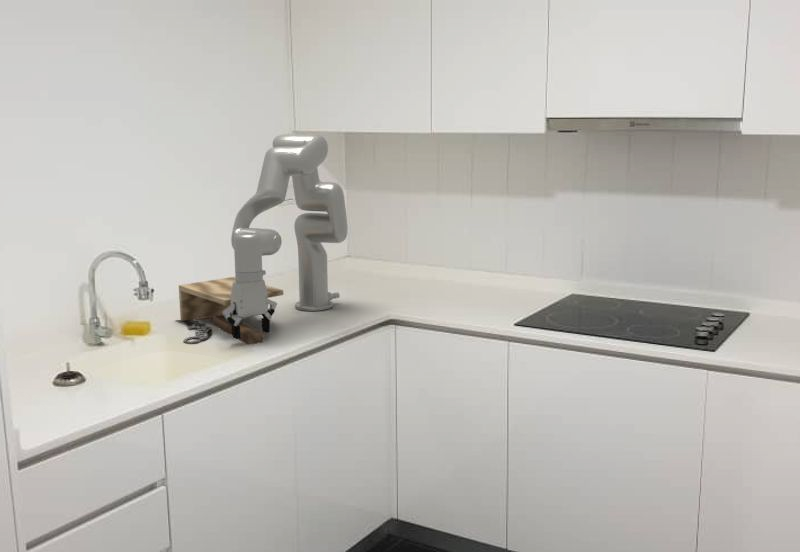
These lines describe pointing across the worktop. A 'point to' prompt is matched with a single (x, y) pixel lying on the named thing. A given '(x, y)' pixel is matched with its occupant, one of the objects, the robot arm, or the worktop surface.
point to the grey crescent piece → (202, 331)
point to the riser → (210, 298)
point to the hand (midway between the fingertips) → (251, 335)
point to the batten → (246, 331)
